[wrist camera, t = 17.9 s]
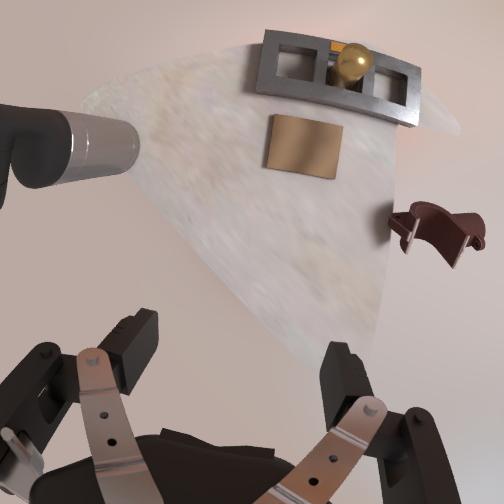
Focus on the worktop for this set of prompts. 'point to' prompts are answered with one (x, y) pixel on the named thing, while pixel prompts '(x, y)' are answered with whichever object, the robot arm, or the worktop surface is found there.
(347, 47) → the gold domed cylinder
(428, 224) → the bracket
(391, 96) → the worktop surface
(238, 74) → the worktop surface
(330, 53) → the grey flat frame
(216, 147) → the worktop surface
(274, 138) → the tan rectangular plate
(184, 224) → the worktop surface
